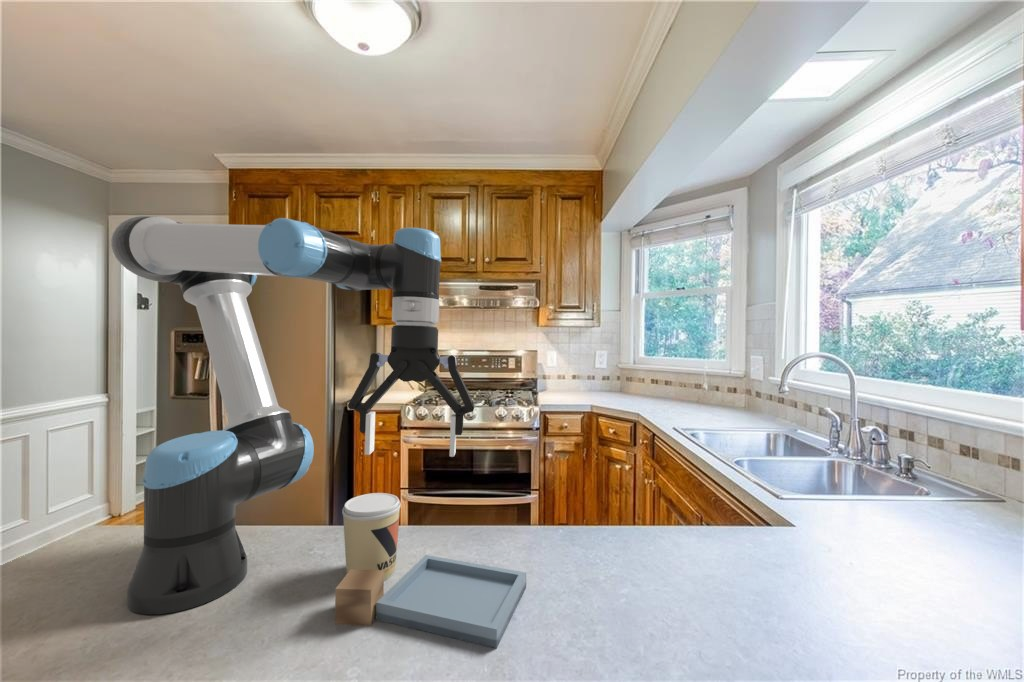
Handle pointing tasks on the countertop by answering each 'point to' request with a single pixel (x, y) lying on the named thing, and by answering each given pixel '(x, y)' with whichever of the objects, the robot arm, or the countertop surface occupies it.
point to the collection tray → (454, 599)
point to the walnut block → (358, 597)
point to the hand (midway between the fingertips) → (411, 453)
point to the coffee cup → (371, 532)
